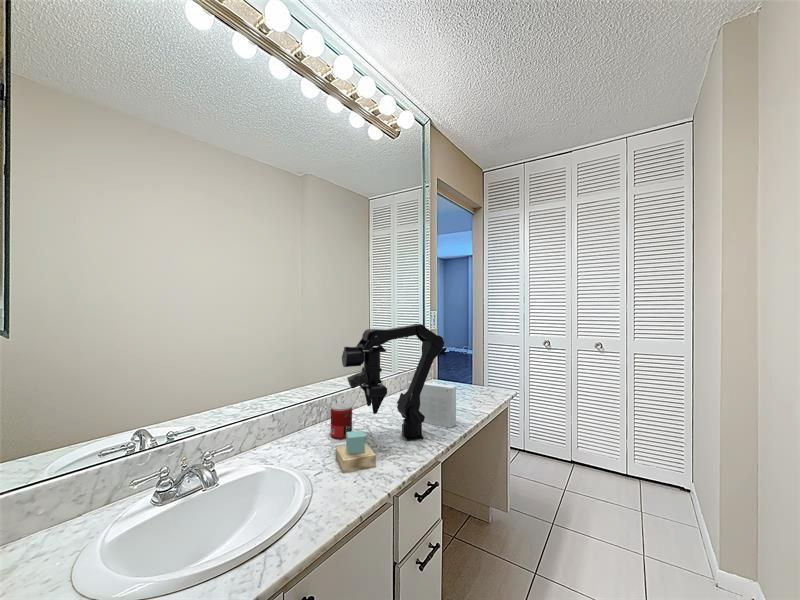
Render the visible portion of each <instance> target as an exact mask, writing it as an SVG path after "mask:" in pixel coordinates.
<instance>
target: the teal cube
mask: <svg viewBox="0 0 800 600" xmlns="http://www.w3.org/2000/svg"><path fill="white" fill-rule="evenodd" d="M365 442H366V435H365V433H364V431H363V430H356V431H355V430H352V432H346V439H345V446H346V449H347V453H348V455H351V454H360V453H365Z"/></svg>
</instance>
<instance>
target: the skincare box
mask: <svg viewBox="0 0 800 600" xmlns="http://www.w3.org/2000/svg"><path fill="white" fill-rule="evenodd" d="M411 381H412V380H410V381H407V382H406V385H407V386H406V392H407V391H408V389H409V387H410V384H411ZM419 411H420V412H421V413H422V414H423V415H424V416H425V419H424V422H423V423H424V424H429V425H435V426H439V427H444V428H448V429H452V428H453V427H456V424H457V420H456V419H457V386H456V385H449V384H441V383H434V382H428V381H427V382H426V381H425V384H424V386H423V389H422V391H421V394H420V408H419Z"/></svg>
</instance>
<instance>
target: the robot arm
mask: <svg viewBox="0 0 800 600" xmlns="http://www.w3.org/2000/svg"><path fill="white" fill-rule="evenodd" d="M361 335H362V337H361V339H360V340H359V342H358V343H357V344H356V346H344V347H343V351H342V355H341V363H342V367H343V368H349V367H350V368H353V367H361V366H362V364H363V366H362V368H361V371H360V372H358V373H355V374H352V375H349V376H347V378H346V379H347V382H348V385H349V387H350V388H351V389H352V390H353V389H356V388H357V387H358V386H359V387H360V388H361V389H362V390H363V393H364V398H365V400H366V401H365V403H366V406H367V407H370V406H371V408H372V409H371V410H372V412H373V413H372V414H373V415H376V414H377V413H378V411H379V409H380V406H381V405H382V403H383V401H384V399H385V397H386V396H387V395H388V387H386V386H385V385H384V384H383V382H382V379H381V372H382V370H383V369H382V367H381V353H385V352H387V349H386V348H384V347H383V345H384V344H387V342H390V341H392V340H397V339H402V338H407V337H412V336H416V338H417V339H418V340H419V341H421V343H422V344H421V357H420V358H419V361H418V363H417V367H416V369H415V372H414V374H413V376H412V379H411V380H410V381H411V384H410V387H409V389H408V391H407V390H406V392H405V393H402V392H401V393H400V394H399V397H398V400H397V401H396V404H397V407H396V408H397V411H398V413H399V414H401V417H402V419H403V420H402V421H403V422H402V424H401V435H402V436H403V437H404V439H405V440H406V441H413V440H414V441H415V440H422V439H424V438H425V437H424V436H423V427H422V426H423V423H424V419H425V416H424V415H423V414H422V413H421V412H420V411H419V408H420V394H421V391H422V389H423V386H424V384H425V382H426V381H427V378H428V376H429V373H430V371H431V368H432V365H433V362H434V361H435V359H436V358H437V357H438V356H439V355H440V353H441V352H442V350H443V348H444V347H445V340H444V338H443V337H442V336H441V335H438V334H436V333H435V332H433V331H431V330H430V329H429V328H427V327H426V326H425V325H424V324H422V323H421V324H420V323H414V324H411V325H405V326H399V327H393V328H392V327H391V328H387V329H382V328H381V329H380V328H367V329H366V330H364V332H363V333H362V334H361Z"/></svg>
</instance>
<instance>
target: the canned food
mask: <svg viewBox="0 0 800 600" xmlns="http://www.w3.org/2000/svg"><path fill="white" fill-rule="evenodd" d="M352 431H353V405H352V404H350V403H346V402H343V403H342V402H341V403H340V402H338V403H334V404H332V405H331V406H330V436H331V438H332V439H334V440H346V432H352Z"/></svg>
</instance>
